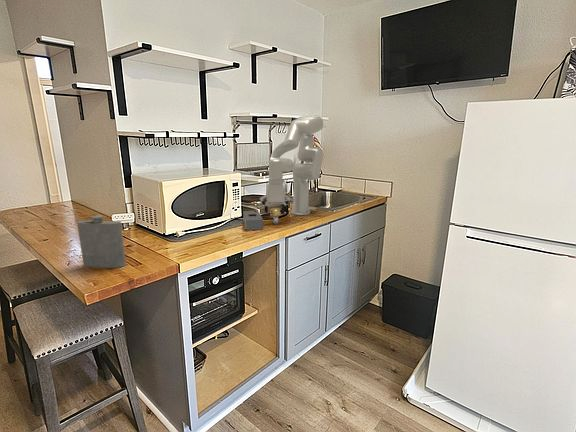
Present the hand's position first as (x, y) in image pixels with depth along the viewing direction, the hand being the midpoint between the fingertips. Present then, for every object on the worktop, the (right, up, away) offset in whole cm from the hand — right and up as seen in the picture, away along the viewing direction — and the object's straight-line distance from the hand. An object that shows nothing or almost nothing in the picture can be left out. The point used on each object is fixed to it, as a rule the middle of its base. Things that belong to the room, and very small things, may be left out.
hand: (275, 212), depth 185 cm
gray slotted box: (-13, -7, -1) cm, 14 cm away
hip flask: (-64, -21, -58) cm, 89 cm away
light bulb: (0, -6, +2) cm, 7 cm away
